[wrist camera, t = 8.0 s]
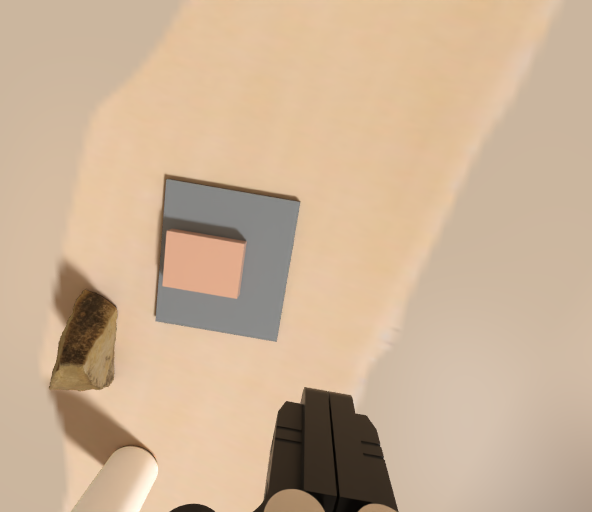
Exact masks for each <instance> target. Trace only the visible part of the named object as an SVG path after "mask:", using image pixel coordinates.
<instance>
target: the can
mask: <svg viewBox="0 0 592 512" xmlns="http://www.w3.org/2000/svg"><path fill="white" fill-rule="evenodd" d="M157 474H158V466H157V463H156V460H155V458H154V457H153V456H152V454H151V453H149V452H148V451H147V450H145V449H143V448H141V447H137V446H127V447H123V448H120V449H118V450H116V451H115V452H114V453H113V454H112V455H111V456H110V458H109V459H108V460H107V462H106V463H105V465H104V466H103V467H102V469H101V470H100V472H99V473H98V474H97V476H96V477H95V479H94V480H93V481H92V483H91V484H90V486H89V487H88V488H87V490H86V491H85V493H84V494H83V495H82V497H81V498H80V500H79V501H78V502H77V504H76V505H75V507H74V508H73V509H72V511H71V512H139V511H140V509H141V507H142V505H143V503H144V501H145V499H146V497H147V495H148V493H149V491H150V489H151V487H152V485H153V483H154V481H155V479H156V477H157Z"/></svg>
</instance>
